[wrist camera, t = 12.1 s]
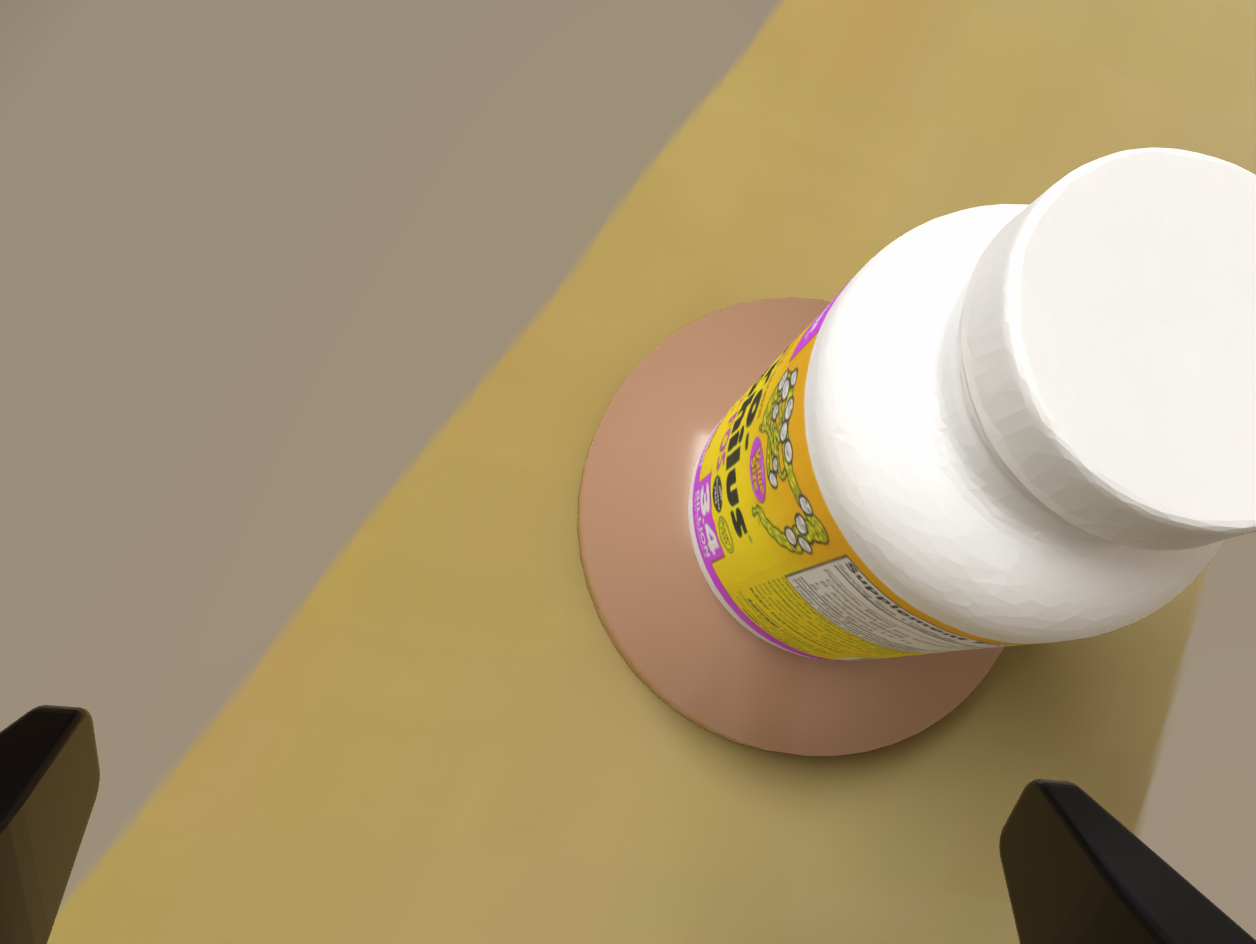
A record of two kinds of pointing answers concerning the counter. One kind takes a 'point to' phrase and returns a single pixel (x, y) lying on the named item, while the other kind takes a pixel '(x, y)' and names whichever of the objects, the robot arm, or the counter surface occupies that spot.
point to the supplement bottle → (1001, 425)
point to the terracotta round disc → (676, 588)
